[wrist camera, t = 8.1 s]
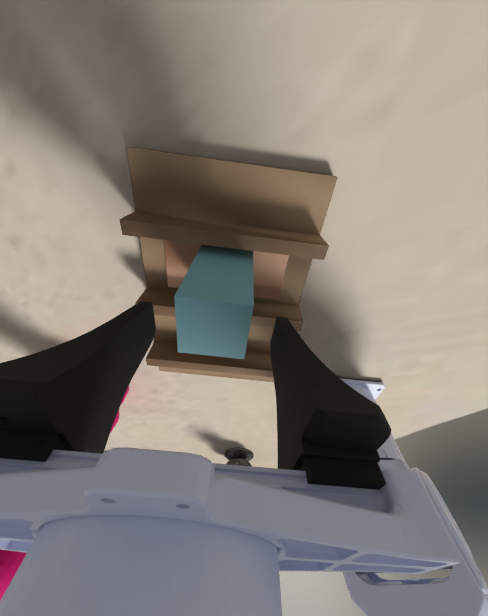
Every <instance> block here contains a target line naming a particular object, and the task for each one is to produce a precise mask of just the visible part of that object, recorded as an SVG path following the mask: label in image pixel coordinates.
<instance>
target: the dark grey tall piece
mask: <svg viewBox="0 0 488 616" xmlns="http://www.w3.org/2000/svg"><path fill="white" fill-rule="evenodd" d="M225 457H226V458H227V459H228V460H230V461H229V462H228V463H227V464H228V465H240V466H251V464H250V463H249V462H248V461H249V460H251V459H252V458H253V453H252V452H251V451H250V450H247V449H244V448H232V449H229V450H227V451H226V452H225ZM251 467H252V466H251Z"/></svg>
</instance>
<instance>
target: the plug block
mask: <svg viewBox="0 0 488 616" xmlns="http://www.w3.org/2000/svg"><path fill="white" fill-rule="evenodd" d="M174 298H175V314H176V329H177V345H178V352H180V353H190V354H199V355H208V356H218V357H227V358H237V359H244V358H245V352H246V346H247V341H248V335H249V330H250V324H251V318H252V313H253V307H254V279H253V251H250V250H242V249H233V248H225V247H217V246H209V245H201V247H200V249H199V251H198V253H197V255H196V256H195V258H194V260H193V262H192V264H191V266H190V268H189V270H188V271H187V273H186V275H185V277H184V279H183V281H182V283H181V284H180V286H179V288H178V290H177V292H176V294H175V296H174Z"/></svg>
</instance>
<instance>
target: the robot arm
mask: <svg viewBox="0 0 488 616" xmlns="http://www.w3.org/2000/svg"><path fill="white" fill-rule="evenodd" d="M155 332H156V325H155V317H154V310H153V303H152V302H145V301H141V302H139V303H138V304H136V305H134V306H133V307H131V308H129V309H128V310H126V311H125V312H123V313H121V314H120V315H118V316H117V317H115V318H113V319H112V320H110V321H108V322H106V323H105V324H103V325H101V326H99V327H97V328H96V329H94V330H92V331H90V332H88V333H86V334H84V335H81V336H79V337H77V338H75V339H72V340H70V341H68V342H65V343H62V344H60V345H57V346H55V347H52V348H50V349H47V350H44V351H41V352H38V353H35V354H32V355H28V356H25V357H22V358H18V359H15V360H11V361H7V362H3V363H0V549H1V550H10V551H18V552H26V553H27V554H26V556H25V558H24V559H23V561H22V563H21V565H20V566H19V568H18V570H17V572H16V574H15V575H14V577H13V579H12V581H11V582H10V584H9V586H8V588H7V590H6V591H5V593H4V595H3V597H2V598H1V600H0V616H282V609H281V593H280V578H279V571H343V574H344V577H345V581H346V584H347V588H348V590H349V591H350V595H351V598H352V600H353V601H354V603H355V604H356V605H357V606H358V607H359V608H360V609H361V610H362V611H363V612H364V613H365V614H366V615H367V616H488V587H487V584H486V582H485V580H484V578H483V576H482V574H481V572H480V570H479V569H478V567H477V565H476V563H475V561H474V560H473V556H472V553H471V551H470V549H469V547H468V545H467V543H466V541H465V539H464V537H463V535H462V533H461V531H460V530H459V528H458V526H457V524H456V522H455V520H454V519H453V517H452V515H451V513H450V511H449V510H448V508H447V506H446V504H445V503H444V501H443V499H442V497H441V496H440V494H439V492H438V491H437V489H436V487H435V486H434V484H433V482H432V481H431V479H430V478H429V476H428V475H427V474H426V473H424V472H422V471H420V470H419V469H418V468H411V469H410V468H409V467H408V465H407V464H406V462H405V460H404V458H403V456H402V454H401V452H400V450H399V448H398V446H397V444H396V442H395V440H394V438H393V436H392V434H391V428H390V426H389V424H388V422H387V420H386V418H385V415H384V414H383V412H382V410H381V408H380V407H379V405H377V403H376V401H375V399H376V398H377V397H378V395H379V394H380V393H381V392H382V390H383V389H384V388H385V385H384V383H381V382H372V381H362V380H352V379H342V378H339V377H338V376H336V375H335V374H334V373H333V372H332V371H331V370H330V369H328V368H327V367H326V366H325V365H324V364H323V363H322V362H321V361H320V360H319V359H318V358H317V357H316V356H315V354H314V353H313V352H312V351H311V350H310V349H309V347H308V346H307V345H306V344H305V342H304V341H303V340H302V338H301V337H300V336H299V334H298V333H297V331H296V330H295V328H294V327H293V325H292V324H291V322H290V321H289V320H288V318H286V317H277V318H276V322H275V326H274V330H273V334H272V338H271V342H270V352H271V364H272V371H273V377H274V384H275V391H276V403H277V431H278V469H275V468H263V467H251V466H240V465H228V464H216V463H212V462H211V461H210V460H208V459H207V458H205V457H203V456H201V455H196V454H191V453H183V452H172V451H160V450H149V449H137V448H113V449H111V450H108V451H106V452H104V449H105V446H106V443H107V440H108V437H109V434H110V431H111V429H112V426H113V423H114V420H115V418H116V415H117V412H118V410H119V407H120V405H121V402H122V400H123V397H124V395H125V393H126V390H127V388H128V386H129V383H130V381H131V379H132V377H133V375H134V374H135V372H136V370H137V368H138V367H139V365H140V363H141V361H142V359H143V358H144V356H145V354H146V352H147V350H148V348H149V347H150V345H151V342H152V340H153V337H154V334H155ZM103 452H104V453H103ZM437 569H453V570H452V573H451V575H450V577H447V578H432V579H411V580H386V579H383V578H380V577H379V576H378V575H377V574H375V573H385V572H386V573H407V574H420V573H424V572H428V571H432V570H437Z"/></svg>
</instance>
